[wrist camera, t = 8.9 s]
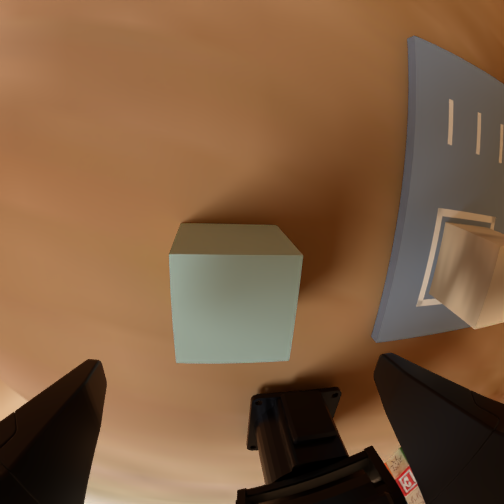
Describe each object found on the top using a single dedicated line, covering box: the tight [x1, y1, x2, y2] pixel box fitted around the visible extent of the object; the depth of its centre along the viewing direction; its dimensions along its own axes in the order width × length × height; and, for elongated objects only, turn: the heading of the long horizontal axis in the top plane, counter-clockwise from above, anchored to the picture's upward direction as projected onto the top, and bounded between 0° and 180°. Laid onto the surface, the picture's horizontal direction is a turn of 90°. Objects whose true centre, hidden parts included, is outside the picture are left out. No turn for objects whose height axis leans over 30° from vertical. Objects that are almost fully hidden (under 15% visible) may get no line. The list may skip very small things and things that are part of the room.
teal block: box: [169, 223, 303, 363], centre depth 14 cm, size 5×5×5 cm
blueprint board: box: [371, 36, 504, 343], centre depth 17 cm, size 20×12×1 cm, turn 176°
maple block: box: [429, 222, 504, 329], centre depth 16 cm, size 5×5×5 cm
